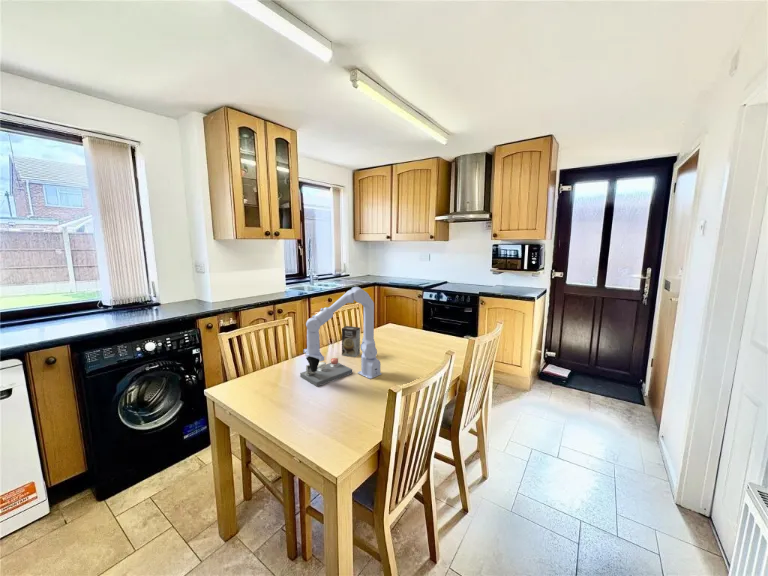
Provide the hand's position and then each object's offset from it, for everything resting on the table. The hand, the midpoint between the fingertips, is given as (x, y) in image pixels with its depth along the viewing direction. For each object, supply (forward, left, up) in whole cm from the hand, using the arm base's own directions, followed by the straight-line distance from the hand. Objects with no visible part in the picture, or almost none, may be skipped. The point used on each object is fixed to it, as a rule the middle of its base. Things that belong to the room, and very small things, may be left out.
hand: (314, 371), depth 147 cm
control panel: (0, -7, -4) cm, 9 cm away
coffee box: (+13, -33, -5) cm, 36 cm away
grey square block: (+3, 0, -2) cm, 4 cm away
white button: (+3, -7, -1) cm, 8 cm away
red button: (+3, -14, -1) cm, 15 cm away
